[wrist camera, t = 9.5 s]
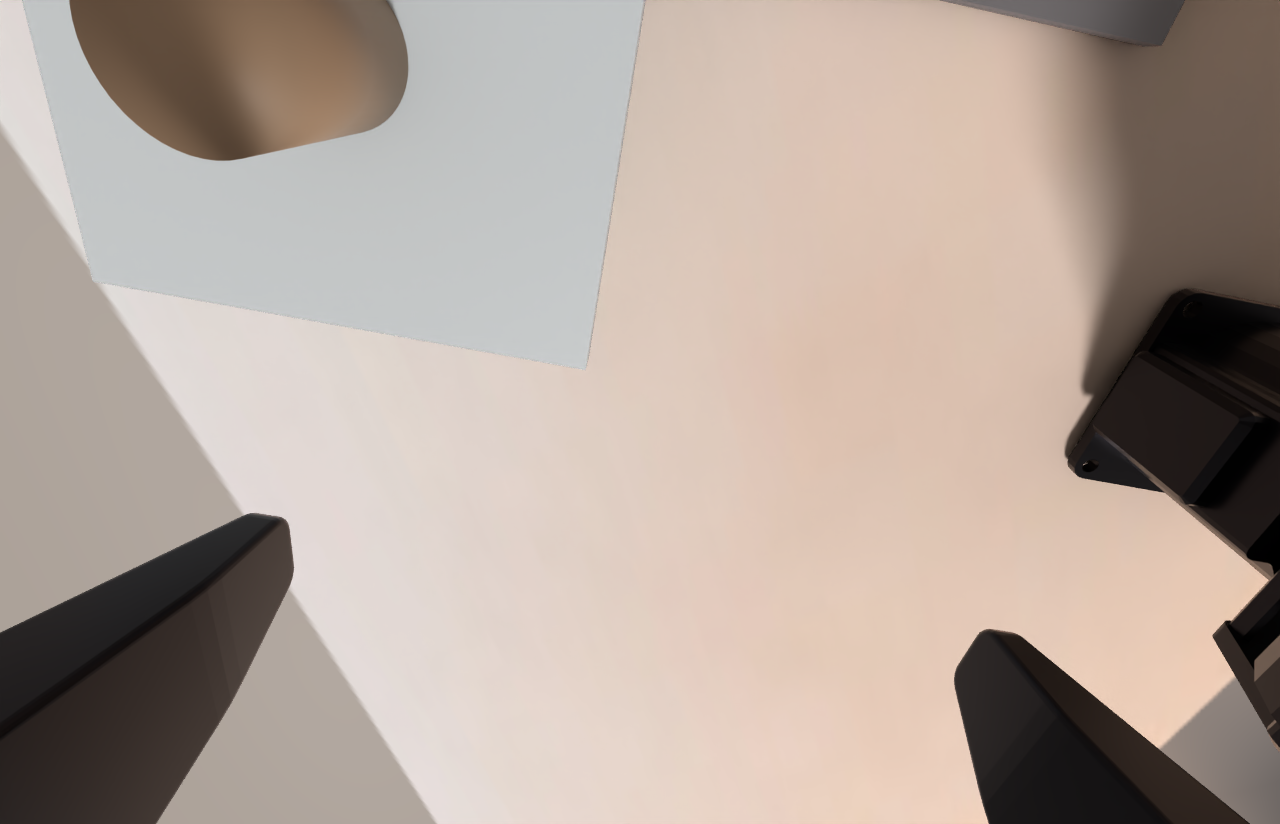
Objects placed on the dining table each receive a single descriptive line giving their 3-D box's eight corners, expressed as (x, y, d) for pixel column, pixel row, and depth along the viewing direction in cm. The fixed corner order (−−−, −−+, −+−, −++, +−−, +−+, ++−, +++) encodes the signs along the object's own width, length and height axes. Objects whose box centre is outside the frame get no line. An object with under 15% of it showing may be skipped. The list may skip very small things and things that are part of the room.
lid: (688, -271, 10) (709, -524, 6) (589, 356, 15) (561, 467, 11) (-46, -454, 9) (-649, -900, 5) (120, 271, 14) (-103, 355, 10)
